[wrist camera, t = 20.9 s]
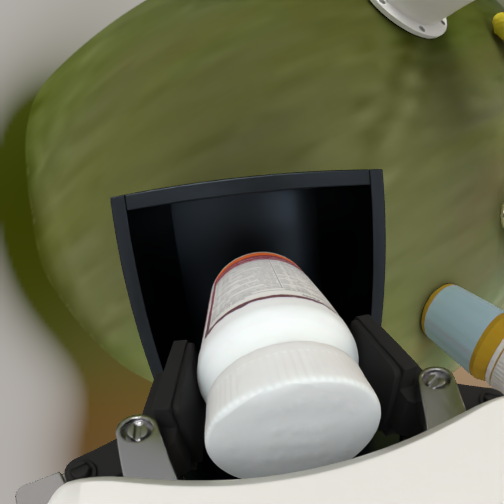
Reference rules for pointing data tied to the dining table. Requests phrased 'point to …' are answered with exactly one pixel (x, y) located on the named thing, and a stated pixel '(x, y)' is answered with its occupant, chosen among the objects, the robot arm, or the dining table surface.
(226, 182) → the waste bin
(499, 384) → the bottle
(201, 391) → the pill bottle
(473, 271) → the dining table surface
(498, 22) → the lemon
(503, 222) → the cup with straw
